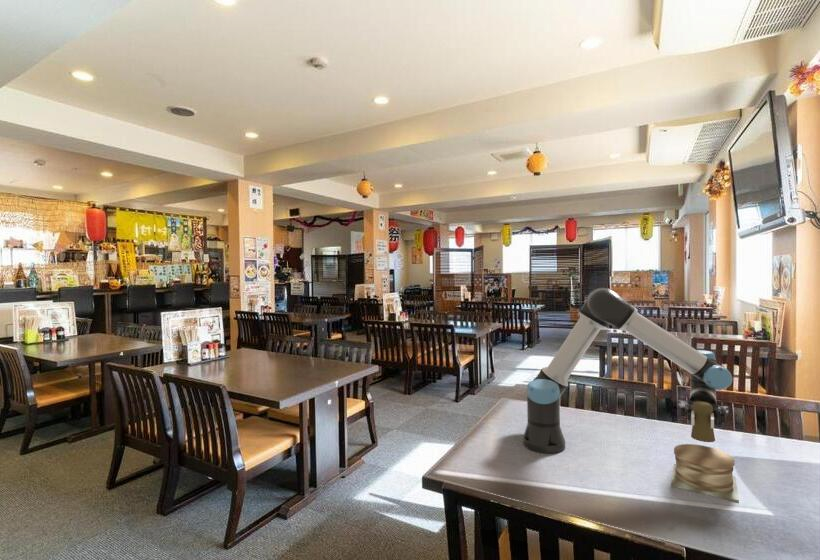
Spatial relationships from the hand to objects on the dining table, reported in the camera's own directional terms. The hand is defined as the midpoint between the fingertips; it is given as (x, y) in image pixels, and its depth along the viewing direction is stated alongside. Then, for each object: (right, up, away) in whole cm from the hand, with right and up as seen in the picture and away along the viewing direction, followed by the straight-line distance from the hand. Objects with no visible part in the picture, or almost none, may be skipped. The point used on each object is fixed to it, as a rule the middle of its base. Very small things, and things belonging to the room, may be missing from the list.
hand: (702, 422), depth 121 cm
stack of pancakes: (+4, -20, +4) cm, 21 cm away
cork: (+3, -7, +4) cm, 9 cm away
